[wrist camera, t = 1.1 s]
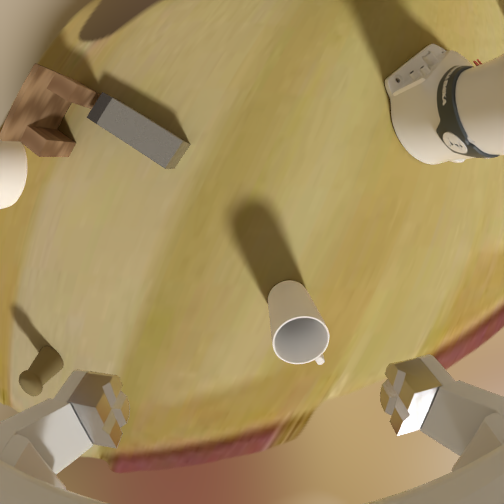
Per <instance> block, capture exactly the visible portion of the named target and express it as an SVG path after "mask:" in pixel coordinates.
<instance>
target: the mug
mask: <svg viewBox="0 0 504 504" xmlns="http://www.w3.org/2000/svg"><path fill="white" fill-rule="evenodd" d="M268 308H269V318H270V327H271V336H272V344H273V349H274V351H275V353H276V355H277V356H278V357H279V358H280V359H282V360H283V361H285V362H288V363H292V364H304V363H308V362H311V361H313V360H315V361H316V362H317V364H318V365H321V364H323V363H324V362H325V360H324V356H323V352H324V351H325V349H326V348H327V346H328V343H329V331H328V328H327V327H326V325H325V322H324V320H323V318H322V317H321V315H320V313H319V311H318V309H317V308H316V306H315V304H314V302H313V300H312V298H311V296H310V295H309V293H308V291H307V290H306V288H305V287H304V286H303V285H302V284H300V283H299V282H296V281H292V280H287V281H283V282H280V283H278V284H277V285H275V286H274V287H273V288H272V289H271V291H270V293H269V296H268Z"/></svg>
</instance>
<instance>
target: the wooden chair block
mask: <svg viewBox="0 0 504 504" xmlns="http://www.w3.org/2000/svg"><path fill="white" fill-rule="evenodd" d="M100 95H101V94H99V93H97V92H96V91H94V90H92V89H90V88H89V87H87V86H85V85H83V84H82V83H80V82H78V81H76V80H73V79H71V78H69V77H67V76H64V75H62V74H60V73H57V72H55V71H53V70H50V69H48V68H46V67H43V66H41V65H38V64H35V65H34V66H33V68H32V69H31V71H30V73H29V75H28V76H27V78H26V80H25V82H24V84H23V85H22V87H21V89H20V91H19V93H18V95H17V97H16V99H15V101H14V103H13V105H12V107H11V109H10V111H9V114H8V116H7V118H6V120H5V123H4V125H3V127H2V130H1V132H0V139H1V140H2V141H19V142H21V143H22V144H24V145H25V146H26V147H27V148H29V149H30V150H31V151H32V152H34V153H35V154H36V155H37V156H39V157H69V156H70V154H71V152H72V150H73V148H74V146H75V144H76V142H74V141H73V140H71V139H70V138H69V137H67V136H66V135H64V134H63V133H61V132H60V131H58V130H57V129H58V127H59V125H60V123H61V121H62V119H63V117H64V116H65V114H66V112H67V110H68V108H69V107H70V105H71V103H75V104H78V105H81V106H84V107H87V108H90V109H92V108H93V106H94V105H95V103H96V101H97V100H98V98H99V97H100Z"/></svg>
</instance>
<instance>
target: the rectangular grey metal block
mask: <svg viewBox="0 0 504 504" xmlns="http://www.w3.org/2000/svg"><path fill="white" fill-rule="evenodd" d="M87 118H88V119H90V120H91V121H93V122H95V123H96V124H98V125H99V126H101V127H102V128H104V129H105V130H107V131H109V132H110V133H112V134H113V135H115V136H116V137H118V138H119V139H121V140H122V141H124V142H125V143H127V144H129V145H130V146H132V147H133V148H135V149H136V150H138V151H139V152H141V153H142V154H144V155H145V156H147V157H148V158H150V159H151V160H153V161H154V162H156V163H157V164H159V165H160V166H162V167H163V168H165V169H174V168H175V167H176V165H177V164H178V162H179V161H180V159H181V158H182V156H183V155H184V153H185V152H186V150H187V149H188V148H189V146H190V144H189V143H187V142H186V141H184V140H183V139H181V138H179V137H178V136H176V135H175V134H173V133H172V132H170V131H168V130H167V129H165V128H164V127H162V126H160V125H159V124H157V123H156V122H154V121H152V120H151V119H149V118H147V117H146V116H144V115H143V114H141V113H139V112H138V111H136V110H134V109H133V108H131V107H129V106H128V105H126V104H124V103H122V102H121V101H119V100H117V99H115V98H113V97H111V96H109V95H107V94H105V93H103V92H102V94H101V95H100V97H99V98H98V100H97V101H96V103H95V105H94V106H93V108H92V110H91V111H90V113H89V115H88V116H87Z"/></svg>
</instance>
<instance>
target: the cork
mask: <svg viewBox="0 0 504 504" xmlns="http://www.w3.org/2000/svg"><path fill="white" fill-rule="evenodd" d="M62 368H63V360H62V358H61V356H60V355H59V353H58V352H57V351H56V350H54V349H53V348H51V347H49V346H44V347H43V348H42V349H41V350H40V352H39V353H38V355H37V357H36V358H35V360H34V361H33V363H32V364H31V366H30V368H29V369H28V370H26V371H23V372H22V373H21V374H20V376H19V383H20V385H21V387H22V389H23V390H24V391H25V392H26V393H27V394H29V395H31V396H38V395H39V394H40V393H41V392H42V388H43V385H44V384H45V383H46V382H47V381H48V380H49V379H51V378H52V377H53V376H54V375H55V374H56V373H57V372H59V371H60V370H61V369H62Z"/></svg>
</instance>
